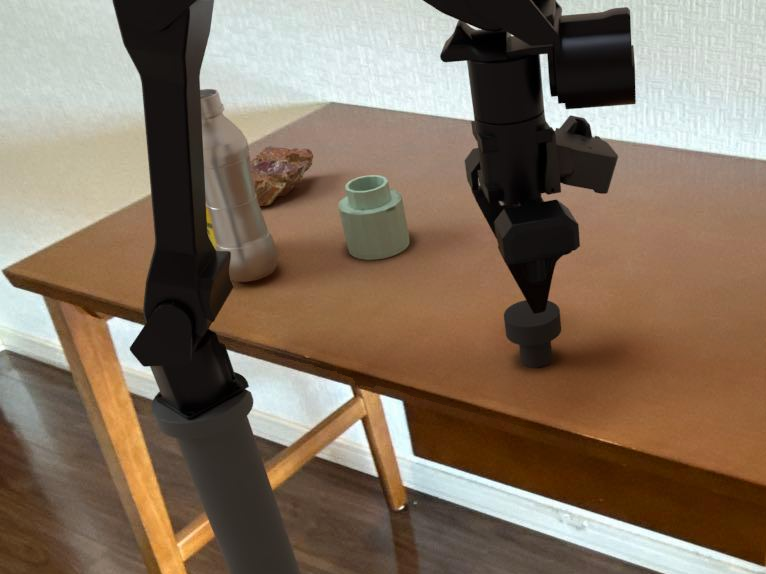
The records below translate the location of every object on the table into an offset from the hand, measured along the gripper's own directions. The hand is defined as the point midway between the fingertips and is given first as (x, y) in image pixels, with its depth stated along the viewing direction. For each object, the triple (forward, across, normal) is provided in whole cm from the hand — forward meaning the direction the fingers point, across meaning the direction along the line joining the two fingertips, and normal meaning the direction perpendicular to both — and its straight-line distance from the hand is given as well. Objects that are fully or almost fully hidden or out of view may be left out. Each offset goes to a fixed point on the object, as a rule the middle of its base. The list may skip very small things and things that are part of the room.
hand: (527, 288), depth 92 cm
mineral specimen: (+8, +54, +23) cm, 59 cm away
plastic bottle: (+8, +30, +26) cm, 41 cm away
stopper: (+7, 0, 0) cm, 7 cm away
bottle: (+8, +32, +12) cm, 35 cm away
